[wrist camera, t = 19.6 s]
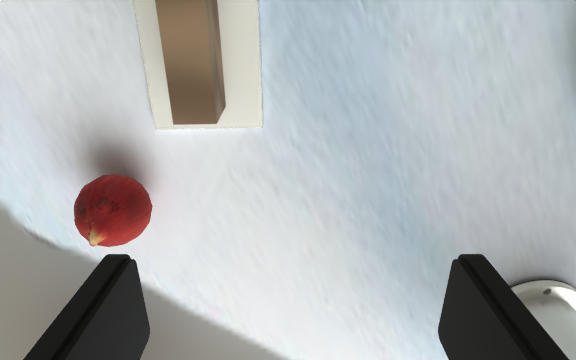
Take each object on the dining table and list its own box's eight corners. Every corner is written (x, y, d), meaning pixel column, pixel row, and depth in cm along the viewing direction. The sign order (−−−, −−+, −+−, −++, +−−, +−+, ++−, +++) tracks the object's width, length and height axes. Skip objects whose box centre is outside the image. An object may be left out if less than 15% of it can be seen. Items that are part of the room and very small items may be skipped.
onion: (84, 179, 33) (30, 227, 26) (134, 149, 32) (92, 191, 25) (127, 226, 35) (88, 282, 28) (175, 199, 34) (147, 250, 27)
